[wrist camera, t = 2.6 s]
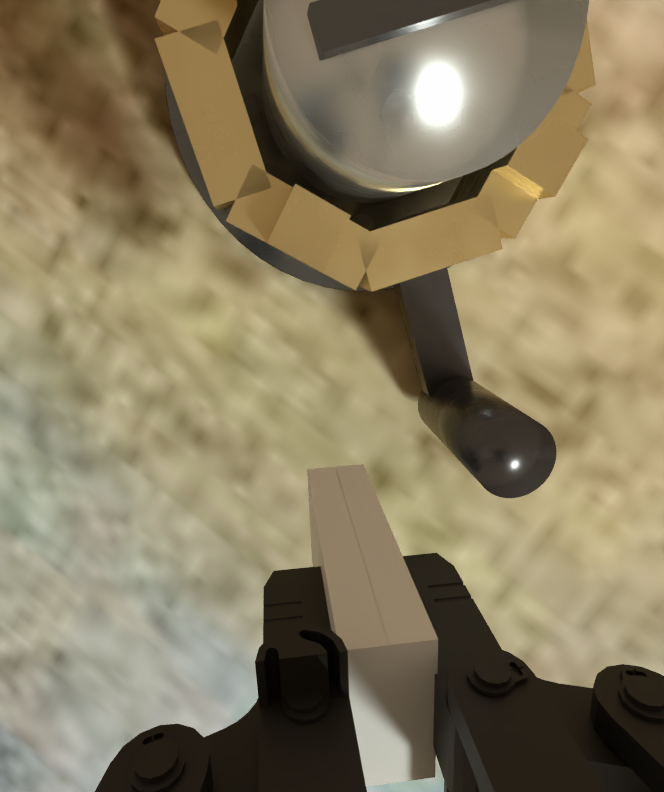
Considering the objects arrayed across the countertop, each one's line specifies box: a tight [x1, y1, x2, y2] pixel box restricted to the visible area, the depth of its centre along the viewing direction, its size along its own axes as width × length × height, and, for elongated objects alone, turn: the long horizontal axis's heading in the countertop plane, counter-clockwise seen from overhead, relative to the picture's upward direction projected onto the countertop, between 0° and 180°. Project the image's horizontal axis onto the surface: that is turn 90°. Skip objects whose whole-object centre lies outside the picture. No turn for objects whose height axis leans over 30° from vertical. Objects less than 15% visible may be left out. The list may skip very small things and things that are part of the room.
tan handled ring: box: [154, 0, 596, 498], centre depth 18 cm, size 21×14×7 cm, turn 17°
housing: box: [165, 0, 589, 291], centre depth 17 cm, size 15×15×10 cm
